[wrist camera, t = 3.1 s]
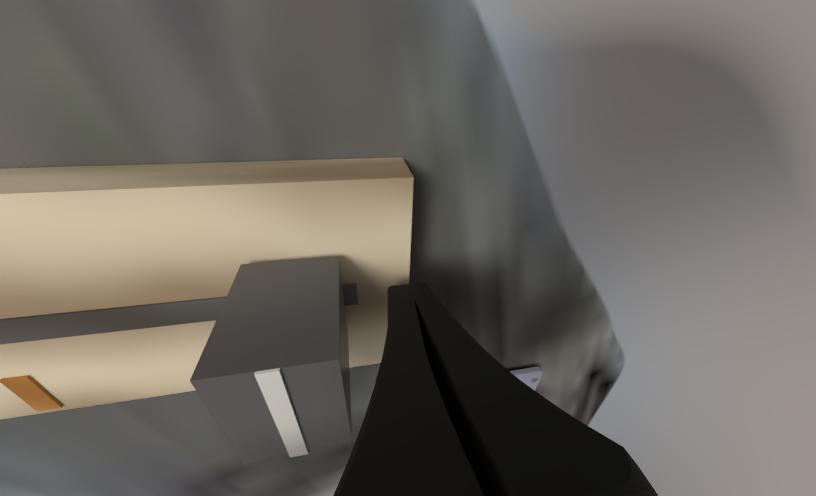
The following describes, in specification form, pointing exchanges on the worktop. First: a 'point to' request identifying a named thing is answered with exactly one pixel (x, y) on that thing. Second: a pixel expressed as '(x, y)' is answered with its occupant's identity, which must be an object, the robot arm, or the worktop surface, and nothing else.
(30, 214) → the fader console
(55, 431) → the worktop surface
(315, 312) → the fader knob
